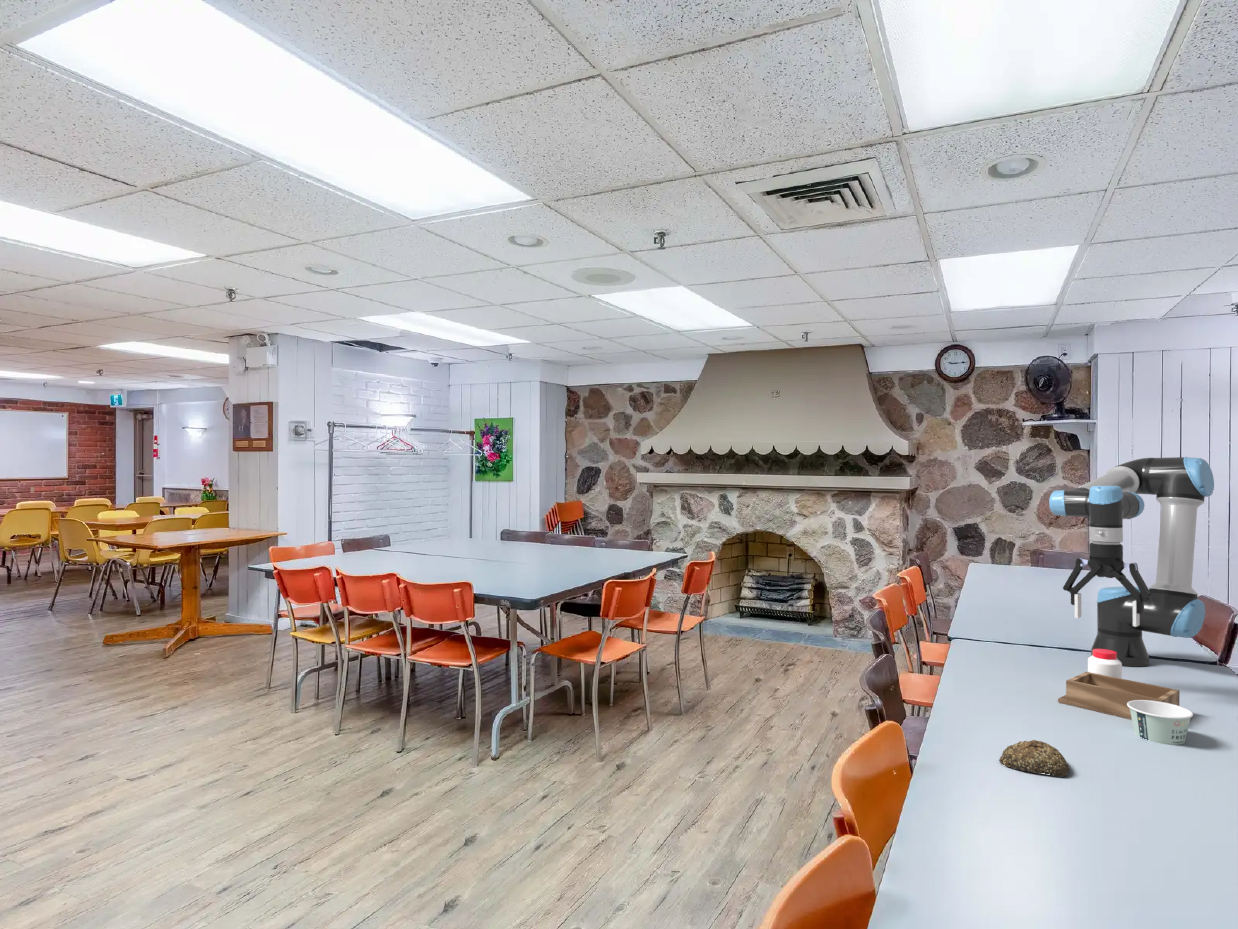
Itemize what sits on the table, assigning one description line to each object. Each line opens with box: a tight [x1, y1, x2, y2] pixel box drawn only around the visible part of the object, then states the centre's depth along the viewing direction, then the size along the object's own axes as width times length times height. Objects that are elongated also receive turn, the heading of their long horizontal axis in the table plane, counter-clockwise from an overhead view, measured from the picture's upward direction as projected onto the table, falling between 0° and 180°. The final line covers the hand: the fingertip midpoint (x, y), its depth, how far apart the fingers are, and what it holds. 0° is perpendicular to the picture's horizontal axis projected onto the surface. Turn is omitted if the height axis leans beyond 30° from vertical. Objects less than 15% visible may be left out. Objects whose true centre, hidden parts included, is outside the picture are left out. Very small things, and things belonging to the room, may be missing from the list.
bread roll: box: [998, 739, 1070, 777], centre depth 149 cm, size 13×12×5 cm
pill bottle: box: [1087, 649, 1123, 679], centre depth 196 cm, size 8×8×11 cm
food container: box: [1127, 700, 1194, 746], centre depth 163 cm, size 12×12×6 cm
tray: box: [1057, 671, 1180, 721], centre depth 182 cm, size 14×24×6 cm, turn 38°
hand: (1106, 621), depth 195 cm, fingers open, 13 cm apart
